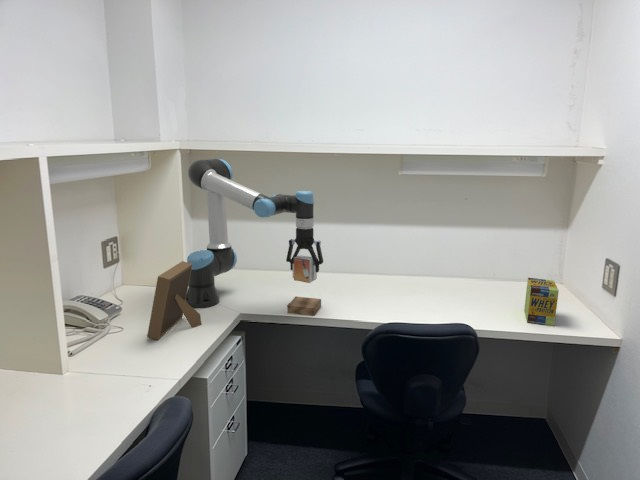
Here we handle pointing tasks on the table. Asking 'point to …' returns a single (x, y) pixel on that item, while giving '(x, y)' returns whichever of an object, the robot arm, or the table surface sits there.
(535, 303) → the protein box
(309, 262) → the small box
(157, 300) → the photo frame
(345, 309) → the table surface
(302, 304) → the plinth
